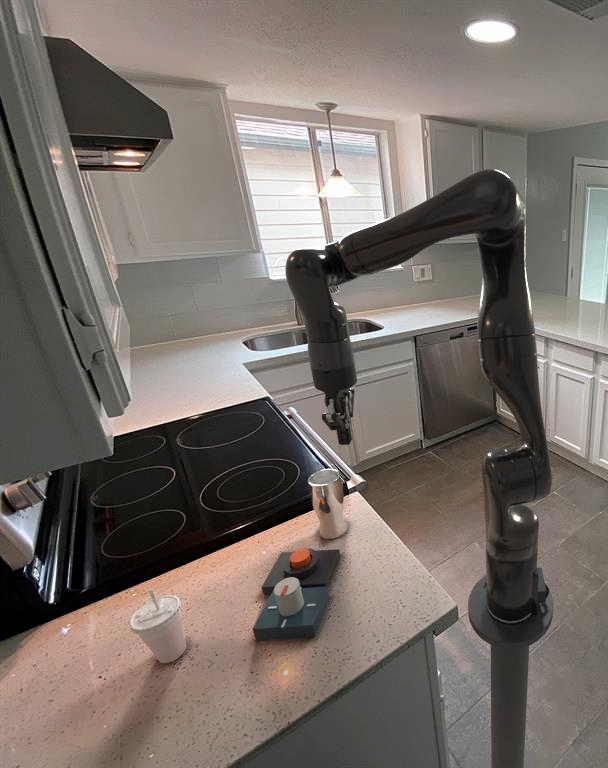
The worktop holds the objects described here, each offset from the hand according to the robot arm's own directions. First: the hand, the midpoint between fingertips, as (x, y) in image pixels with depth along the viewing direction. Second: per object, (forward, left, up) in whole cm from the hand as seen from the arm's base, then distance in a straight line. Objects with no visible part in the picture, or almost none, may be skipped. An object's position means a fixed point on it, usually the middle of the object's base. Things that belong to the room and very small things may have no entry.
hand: (345, 443), depth 82 cm
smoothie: (+26, +22, -27) cm, 44 cm away
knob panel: (+8, +17, -27) cm, 33 cm away
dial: (+8, +17, -24) cm, 30 cm away
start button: (+10, +7, -23) cm, 26 cm away
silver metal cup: (+8, -6, -27) cm, 29 cm away
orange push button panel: (+10, +7, -27) cm, 30 cm away
